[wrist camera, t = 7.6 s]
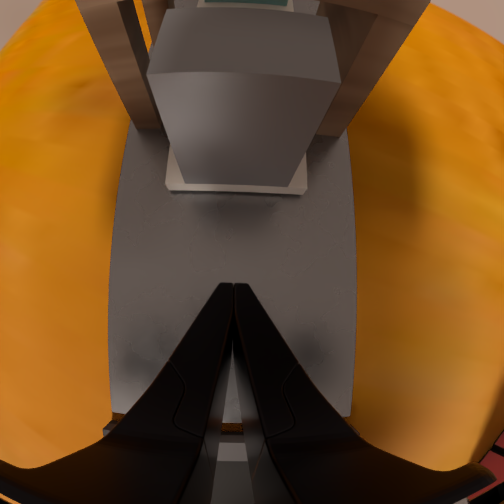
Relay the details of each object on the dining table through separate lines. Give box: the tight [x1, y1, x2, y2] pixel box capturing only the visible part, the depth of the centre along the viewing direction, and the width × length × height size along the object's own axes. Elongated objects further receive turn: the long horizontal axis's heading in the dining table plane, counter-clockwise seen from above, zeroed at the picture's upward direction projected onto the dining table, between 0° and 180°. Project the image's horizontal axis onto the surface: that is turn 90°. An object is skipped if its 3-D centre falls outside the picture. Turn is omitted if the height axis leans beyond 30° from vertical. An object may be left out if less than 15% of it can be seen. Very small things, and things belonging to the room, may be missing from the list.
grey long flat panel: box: [108, 0, 357, 423], centre depth 17 cm, size 33×13×1 cm, turn 179°
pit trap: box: [103, 420, 360, 504], centre depth 14 cm, size 8×14×2 cm, turn 89°
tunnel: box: [75, 0, 430, 137], centre depth 12 cm, size 8×12×11 cm, turn 89°
